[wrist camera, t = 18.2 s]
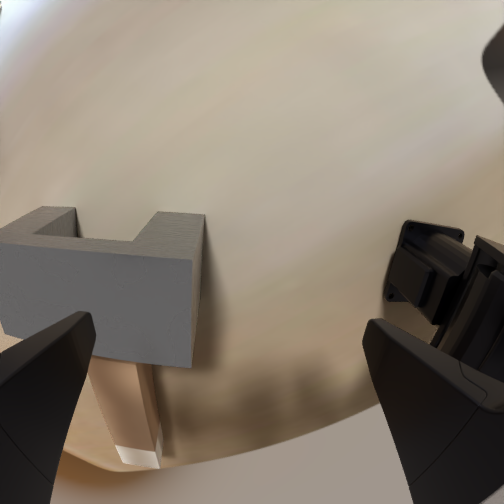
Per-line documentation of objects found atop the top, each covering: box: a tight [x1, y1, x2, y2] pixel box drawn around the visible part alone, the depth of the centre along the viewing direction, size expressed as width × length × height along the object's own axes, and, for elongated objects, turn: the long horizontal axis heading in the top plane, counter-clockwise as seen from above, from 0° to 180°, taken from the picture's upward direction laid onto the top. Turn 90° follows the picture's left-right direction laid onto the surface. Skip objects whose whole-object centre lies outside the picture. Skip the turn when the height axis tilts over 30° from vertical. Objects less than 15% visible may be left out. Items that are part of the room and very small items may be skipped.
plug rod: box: [88, 355, 164, 469], centre depth 22 cm, size 4×16×4 cm, turn 174°
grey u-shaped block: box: [0, 206, 205, 368], centre depth 16 cm, size 12×6×7 cm, turn 84°
